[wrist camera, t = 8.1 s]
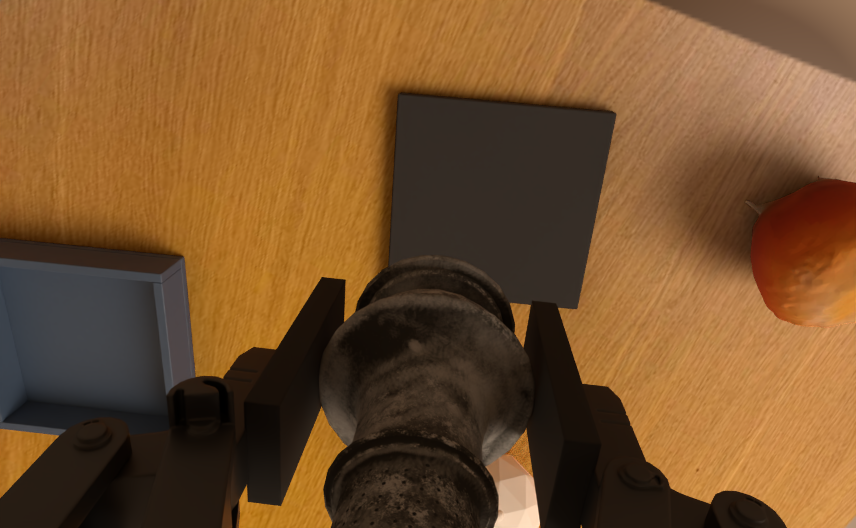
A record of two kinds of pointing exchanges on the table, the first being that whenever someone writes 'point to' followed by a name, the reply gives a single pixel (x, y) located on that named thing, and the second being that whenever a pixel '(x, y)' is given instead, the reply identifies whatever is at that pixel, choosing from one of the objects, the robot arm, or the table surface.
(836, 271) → the fruit
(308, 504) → the table surface
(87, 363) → the tray
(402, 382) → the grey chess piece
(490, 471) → the ornament
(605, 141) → the mat
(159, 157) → the table surface
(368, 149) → the table surface
